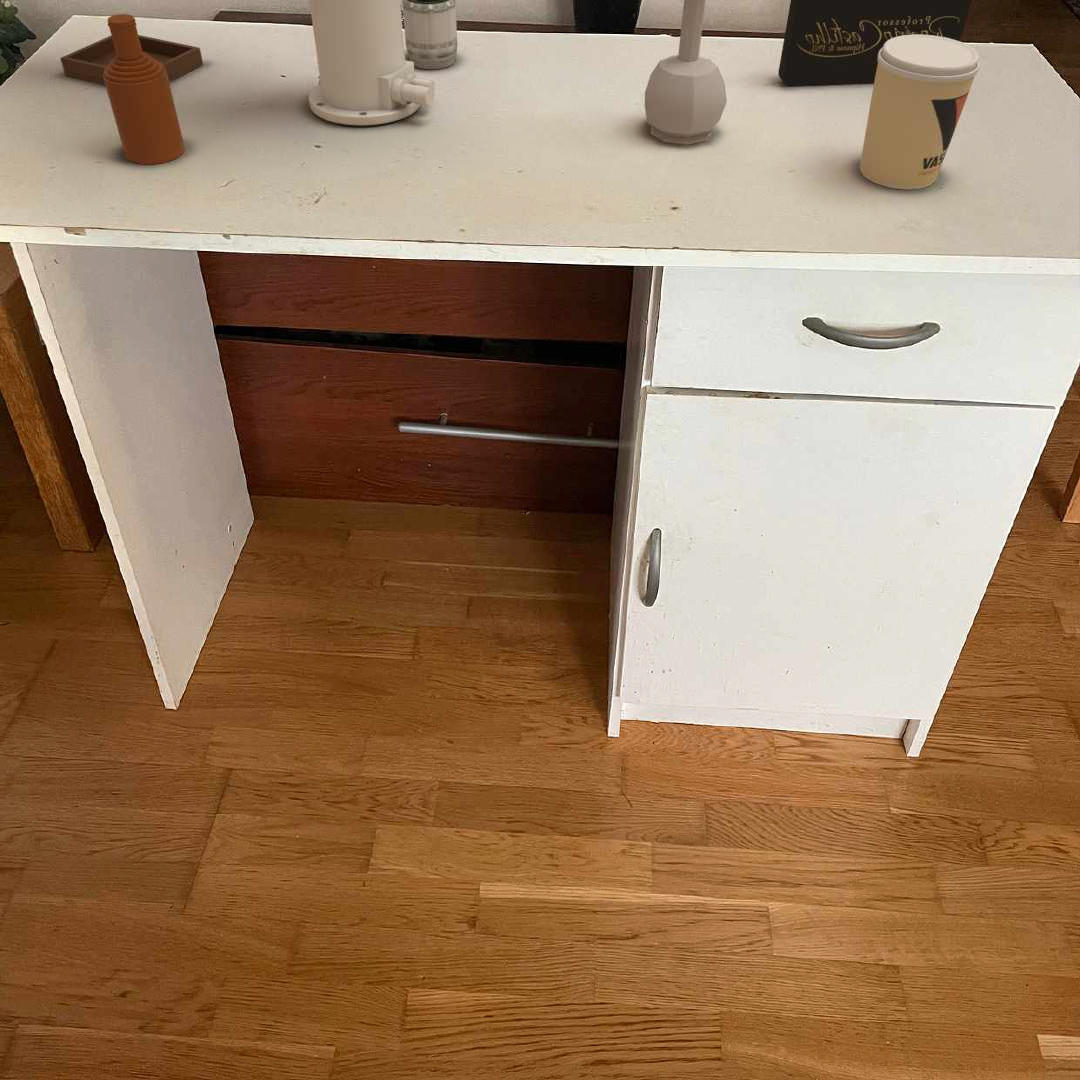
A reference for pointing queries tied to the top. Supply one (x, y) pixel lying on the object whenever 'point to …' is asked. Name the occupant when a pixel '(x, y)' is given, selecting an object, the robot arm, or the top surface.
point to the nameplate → (857, 35)
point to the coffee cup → (915, 108)
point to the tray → (170, 54)
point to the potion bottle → (685, 87)
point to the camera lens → (430, 32)
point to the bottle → (141, 98)
